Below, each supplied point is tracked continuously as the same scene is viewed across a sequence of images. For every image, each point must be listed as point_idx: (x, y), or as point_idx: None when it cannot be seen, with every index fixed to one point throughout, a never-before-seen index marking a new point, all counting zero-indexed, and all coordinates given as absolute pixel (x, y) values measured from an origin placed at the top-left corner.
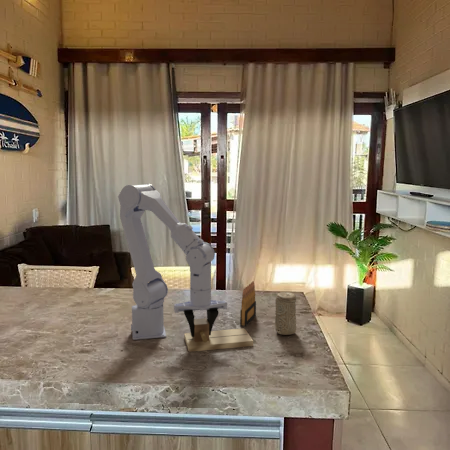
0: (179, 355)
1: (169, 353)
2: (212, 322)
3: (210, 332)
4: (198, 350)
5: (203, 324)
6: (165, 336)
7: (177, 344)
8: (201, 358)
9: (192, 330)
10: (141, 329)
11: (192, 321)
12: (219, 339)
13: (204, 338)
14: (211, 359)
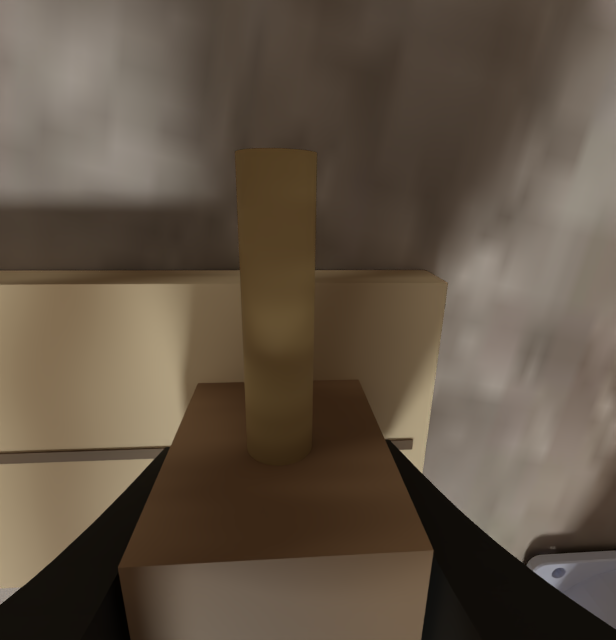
0: (529, 215)
1: (598, 278)
2: (31, 604)
3: (152, 466)
4: (330, 271)
5: (248, 554)
6: (535, 560)
7: (478, 433)
8: (333, 84)
9: (419, 488)
10: None
11: (520, 635)
12: (72, 395)
13: (291, 155)
14: (225, 23)
